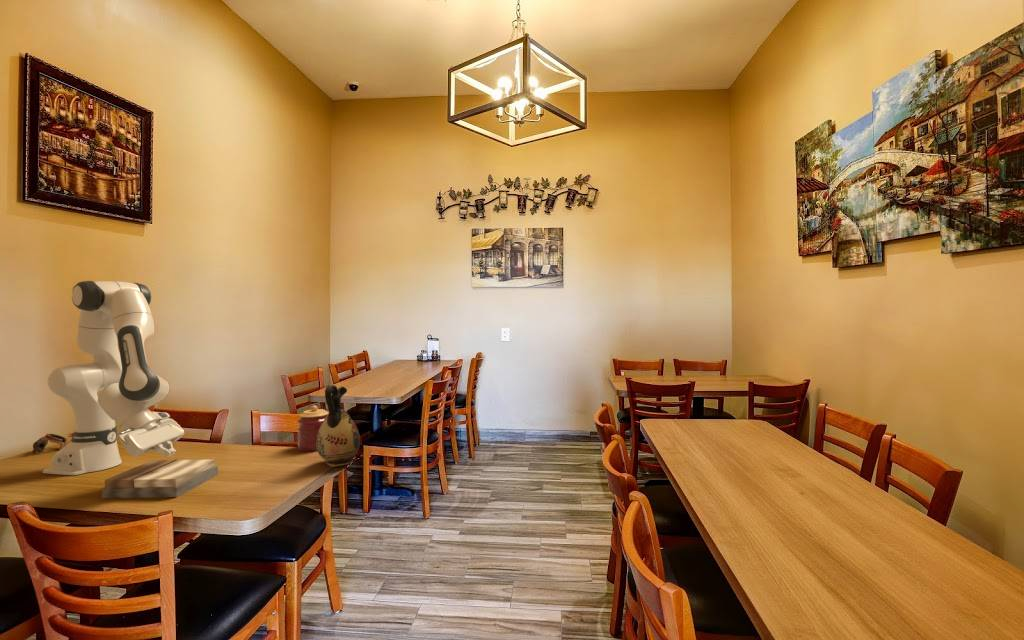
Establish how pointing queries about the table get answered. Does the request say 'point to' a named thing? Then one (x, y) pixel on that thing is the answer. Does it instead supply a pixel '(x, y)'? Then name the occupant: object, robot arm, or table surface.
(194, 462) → the plank
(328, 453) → the ceramic jug
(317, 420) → the canister
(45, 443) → the strapped headlamp
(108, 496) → the grey flat block
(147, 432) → the robot arm
